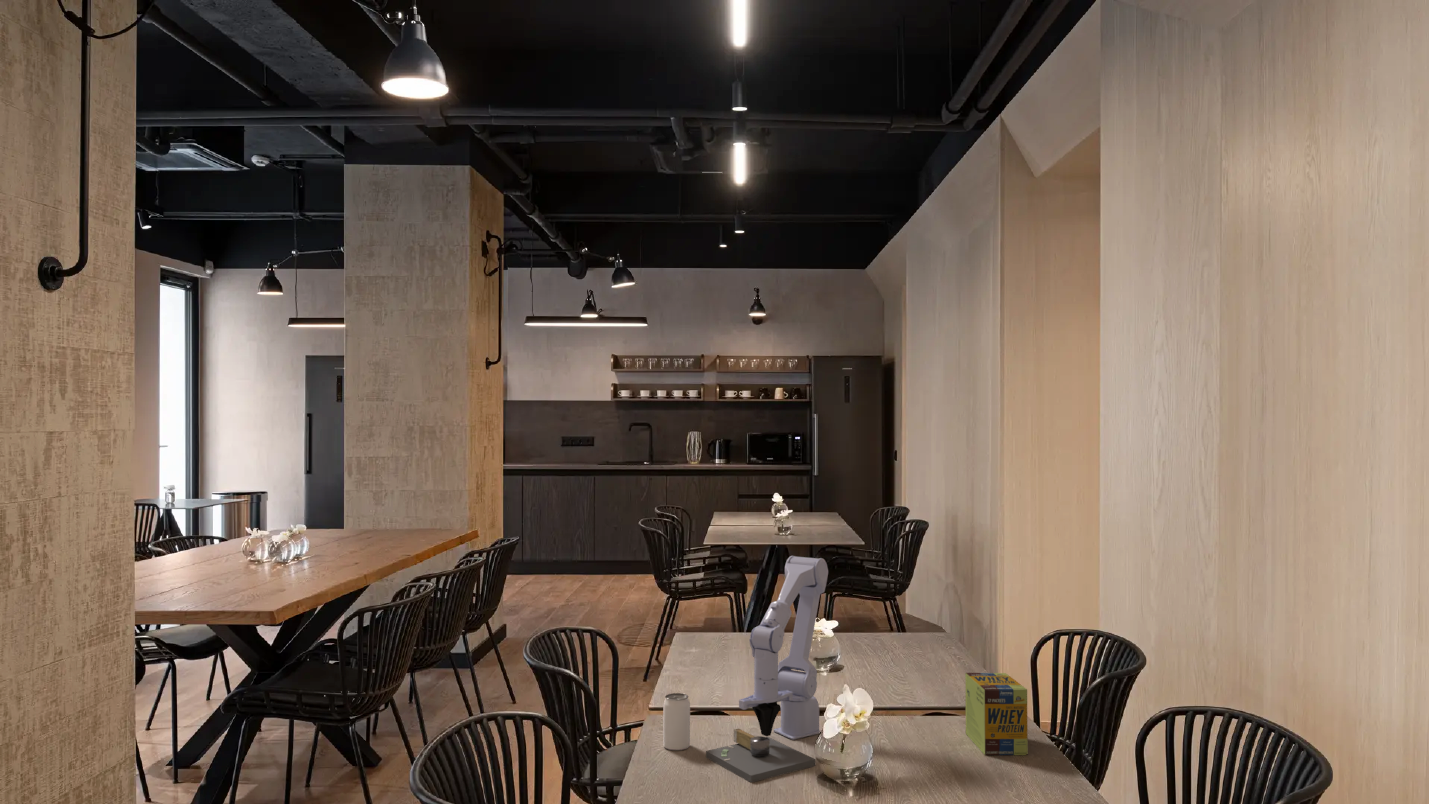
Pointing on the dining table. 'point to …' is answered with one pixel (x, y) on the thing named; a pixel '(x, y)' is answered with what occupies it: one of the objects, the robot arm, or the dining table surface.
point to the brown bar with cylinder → (752, 742)
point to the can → (676, 722)
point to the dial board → (760, 761)
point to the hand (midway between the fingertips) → (766, 734)
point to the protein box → (996, 714)
